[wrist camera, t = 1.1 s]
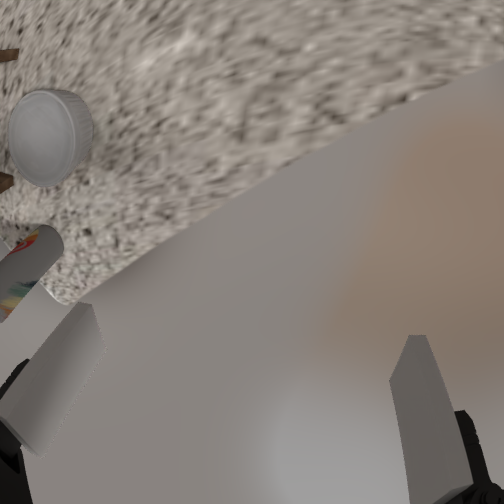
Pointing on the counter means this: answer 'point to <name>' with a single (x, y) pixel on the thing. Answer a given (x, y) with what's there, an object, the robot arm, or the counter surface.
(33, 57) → the counter surface
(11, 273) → the lotion bottle
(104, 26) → the counter surface
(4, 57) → the walnut box
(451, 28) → the counter surface
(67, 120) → the ramekin
